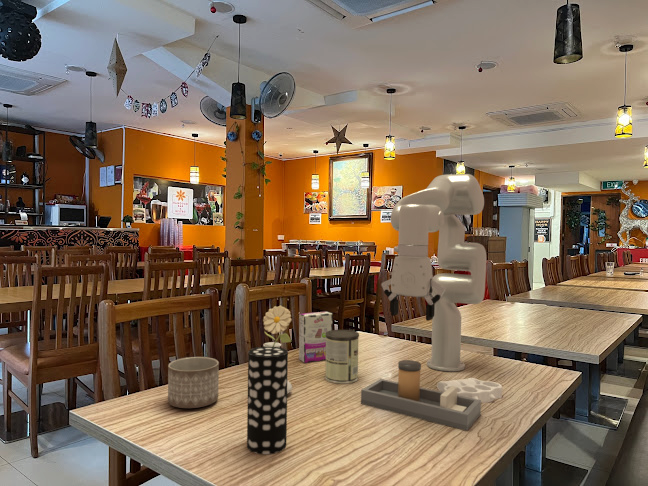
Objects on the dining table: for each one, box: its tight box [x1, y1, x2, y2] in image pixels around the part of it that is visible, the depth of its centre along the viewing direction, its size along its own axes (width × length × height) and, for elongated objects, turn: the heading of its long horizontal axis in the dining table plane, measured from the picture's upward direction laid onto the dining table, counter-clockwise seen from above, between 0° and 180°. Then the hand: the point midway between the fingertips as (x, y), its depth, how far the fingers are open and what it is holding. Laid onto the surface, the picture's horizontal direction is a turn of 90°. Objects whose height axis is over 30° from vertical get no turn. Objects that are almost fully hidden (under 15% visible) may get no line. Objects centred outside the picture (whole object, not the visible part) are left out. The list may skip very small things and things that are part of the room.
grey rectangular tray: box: [360, 378, 482, 431], centre depth 120 cm, size 11×28×4 cm, turn 57°
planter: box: [167, 356, 220, 409], centre depth 122 cm, size 13×13×10 cm
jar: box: [397, 359, 422, 401], centre depth 122 cm, size 6×6×10 cm
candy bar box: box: [298, 311, 334, 364], centre depth 163 cm, size 11×5×16 cm, turn 117°
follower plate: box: [440, 386, 467, 412], centre depth 115 cm, size 8×4×5 cm, turn 147°
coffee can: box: [324, 329, 360, 385], centre depth 143 cm, size 10×10×14 cm
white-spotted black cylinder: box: [246, 346, 289, 455], centre depth 99 cm, size 8×8×20 cm
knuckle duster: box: [436, 377, 503, 404], centre depth 131 cm, size 3×18×15 cm
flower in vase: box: [262, 305, 293, 395], centre depth 128 cm, size 13×11×25 cm
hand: (411, 317), depth 121 cm, fingers open, 9 cm apart
